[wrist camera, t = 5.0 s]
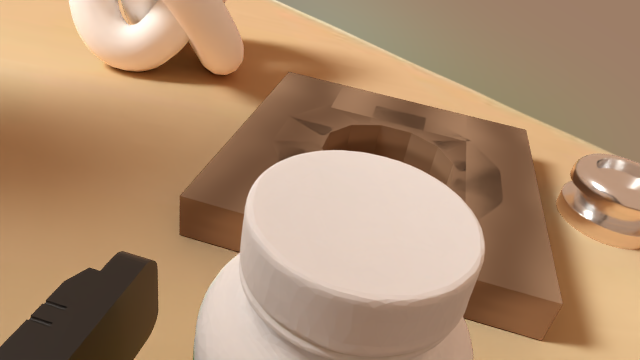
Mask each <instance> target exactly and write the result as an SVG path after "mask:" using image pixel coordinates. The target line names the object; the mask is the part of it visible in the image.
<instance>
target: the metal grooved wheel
mask: <svg viewBox="0 0 640 360" xmlns="http://www.w3.org/2000/svg"><path fill="white" fill-rule="evenodd" d="M570 176H571V179H572V181H570V182H568V183H566V184H565V185H564V186H563V188H562V190H561V192H560V194H559V196H558V198H557V200H556V207H557V210H558V212H559V213H560V215H561V216H562V217H563V218H564V220H565V221H566V222H568V223H569V224H570V225H571V226H572V227H574V228H575V229H576V230H578V231H579V232H581V233H582V234H584V235H586V236H588V237H590V238H592V239H594V240H596V241H598V242H601V243H603V244H606V245H609V246H612V247H616V248H621V249H628V250H639V249H640V164H639V163H637V162H634V161H632V160H629V159H626V158H623V157H619V156H614V155H609V154H591V155H587V156H584V157H582V158H580V159H579V160H578V161H577V162H576V163H575V164H574V166H573V168H572V170H571V172H570Z"/></svg>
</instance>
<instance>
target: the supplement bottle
mask: <svg viewBox="0 0 640 360" xmlns="http://www.w3.org/2000/svg"><path fill="white" fill-rule="evenodd" d="M484 255H485V241H484V236H483V232H482V228H481V226H480V224H479V222H478V220H477V218H476V216H475V215H474V213H473V211H472V210H471V209H470V208H469V207H468V205H467V204H466V203H465V202H464V201H463V200H462V198H461V197H460V196H458V195H457V194H456V193H455V192H454V191H452V190H451V189H450V188H449V187H448V186H446V185H445V184H444V183H442V182H440V181H439V180H437V179H436V178H434V177H432V176H431V175H429V174H427V173H425V172H424V171H422V170H420V169H417V168H415V167H413V166H411V165H408V164H406V163H403V162H400V161H397V160H394V159H390V158H387V157H383V156H379V155H374V154H370V153H364V152H356V151H345V150H326V151H315V152H309V153H304V154H299V155H295V156H292V157H289V158H287V159H284V160H282V161H280V162H278V163H276V164H274V165H273V166H271V167H270V168H268V169H267V170H266V171H264V172H263V173H262V174H261V175H260V176H259V177H258V179H257V180H256V181H255V183H254V184H253V185H252V187H251V189H250V191H249V194H248V197H247V200H246V205H245V211H244V219H243V226H242V236H241V246H240V253H239V254H238V255H236V256H235V257H234V258H233V259H231V260H230V261H229V262H228V263H227V264H226V265H225V266H224V267H223V268H222V269H221V271H220V272H219V273H218V275H217V276H216V277H215V279H214V280H213V282H212V283H211V285H210V286H209V288H208V290H207V292H206V294H205V296H204V299H203V301H202V304H201V306H200V310H199V314H198V318H197V324H196V332H195V340H194V353H193V360H473V349H472V344H471V339H470V335H469V331H468V328H467V325H466V322H465V320H464V318H463V315H464V313H465V311H466V308H467V305H468V302H469V299H470V296H471V294H472V291H473V289H474V286H475V283H476V281H477V278H478V276H479V273H480V270H481V267H482V265H483V262H484Z"/></svg>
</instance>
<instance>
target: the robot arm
mask: <svg viewBox="0 0 640 360" xmlns="http://www.w3.org/2000/svg"><path fill="white" fill-rule="evenodd" d="M157 315H158V269H157V263H156V262H155V261H153V260H150V259H147V258H143V257H140V256H137V255H133V254H130V253H127V252H123V251H121V252H119V253H117V254H116V255H115V256H114V257H113V258H112V259H111V260H110V261H109V262H108V263H107V264H106V265H105V266H104V268H103V269H102V270H101V271H98V270H95V269H92V268H88V269H86V270H84V271H82V272H80V273H79V274H77V275H75V276H73V277H71V278H69V279H68V280H66V281H64V282H63V283H62V284H61V285H60V286H59V287H58V288H57V289H56V290H55V291H54V292H53V293H52V295H51V296H50V297H49V298H48V299H47V300H46V303H45V304H42V305H41V306H40V307H39V308H38V309H37V310H36V311H35V312H34V313H33V314H32V315H31V318H30V319H29V320H26V321H25V322H24V323H23V324H22V325H21V326H20V327H19V328H18V329H17V330H16V331H15V332H14V333H13V334H12V335H11V336H10V337H9V338H8V339H7V340H6V341H5V342H4V344H3V345H2V346H1V347H0V360H133V359H134V358H135V357H136V355H137V354H138V352H139V351H140V349H141V348H142V346H143V345H144V343H145V342H146V341H147V339H148V337H149V336H150V334H151V332H152V330H153V328H154V325H155V322H156V319H157Z"/></svg>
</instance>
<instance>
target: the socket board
mask: <svg viewBox="0 0 640 360" xmlns="http://www.w3.org/2000/svg"><path fill="white" fill-rule="evenodd" d="M326 150H345V151H356V152H364V153H370V154H374V155H379V156H383V157H387V158H390V159H394V160H397V161H400V162H403V163H406V164H408V165H411V166H413V167H415V168H417V169H420V170H422V171H424V172H425V173H427V174H429V175H431V176H432V177H434V178H436V179H437V180H439V181H440V182H442V183H444V184H445V185H446V186H448V187H449V188H450V189H451V190H452V191H454V192H455V193H456V194H457V195H458V196H460V197H461V198H462V200H463V201H464V202H465V203H466V204H467V205H468V207H469V208H470V209H471V210H472V211H473V213H474V215H475V216H476V218H477V220H478V222H479V224H480V226H481V228H482V232H483V236H484V241H485V255H484V262H483V265H482V267H481V270H480V273H479V276H478V278H477V281H476V283H475V286H474V289H473V291H472V294H471V296H470V299H469V302H468V305H467V308H466V311H465V313H464V315H463V318H466V319H470V320H473V321H476V322H480V323H483V324H487V325H490V326H494V327H497V328H500V329H504V330H507V331H511V332H514V333H517V334H521V335H524V336H528V337H531V338H534V339H538V340H541V341H542V339H543V337H544V336H545V334H546V332H547V331H548V329H549V327H550V325H551V324H552V322H553V320H554V319H555V317H556V315H557V313H558V312H559V310H560V308H561V307H562V305H563V303H562V298H561V293H560V288H559V284H558V279H557V274H556V269H555V265H554V260H553V255H552V250H551V246H550V241H549V236H548V232H547V227H546V222H545V217H544V213H543V208H542V203H541V198H540V194H539V189H538V184H537V179H536V175H535V170H534V165H533V160H532V156H531V151H530V146H529V141H528V137H527V132H526V130H524V129H520V128H516V127H512V126H508V125H504V124H500V123H496V122H492V121H487V120H483V119H479V118H475V117H471V116H467V115H463V114H459V113H455V112H451V111H447V110H443V109H438V108H434V107H430V106H426V105H422V104H418V103H414V102H410V101H406V100H402V99H398V98H394V97H390V96H385V95H381V94H377V93H373V92H369V91H365V90H361V89H357V88H353V87H349V86H345V85H341V84H336V83H332V82H328V81H324V80H320V79H316V78H312V77H308V76H304V75H300V74H296V73H292V72H289V73H288V74H287V75H286V76H285V77H284V78H283V80H282V81H281V82H280V83H279V84H278V85H277V86H276V87H275V89H274V90H273V91H272V92H271V93H270V94H269V95H268V97H267V98H266V99H265V100H264V101H263V102H262V103H261V104H260V106H259V107H258V108H257V109H256V110H255V111H254V112H253V114H252V115H251V116H250V117H249V118H248V119H247V120H246V121H245V123H244V124H243V125H242V126H241V127H240V128H239V129H238V131H237V132H236V133H235V134H234V135H233V136H232V137H231V138H230V140H229V141H228V142H227V143H226V144H225V145H224V146H223V148H222V149H221V150H220V151H219V152H218V153H217V154H216V156H215V157H214V158H213V159H212V160H211V161H210V162H209V163H208V165H207V166H206V167H205V168H204V169H203V170H202V171H201V173H200V174H199V175H198V176H197V177H196V178H195V179H194V180H193V182H192V183H191V184H190V185H189V186H188V187H187V188H186V190H185V191H184V192H183V193H182V194H181V195H180V235H183V236H186V237H190V238H193V239H197V240H200V241H203V242H207V243H210V244H214V245H217V246H220V247H224V248H227V249H231V250H234V251H238V252H240V246H241V236H242V226H243V219H244V211H245V205H246V200H247V197H248V194H249V191H250V189H251V187H252V185H253V184H254V183H255V181H256V180H257V179H258V177H259V176H260V175H261V174H262V173H263V172H264V171H266V170H267V169H268V168H270V167H271V166H273V165H274V164H276V163H278V162H280V161H282V160H284V159H287V158H289V157H292V156H295V155H299V154H304V153H309V152H315V151H326Z"/></svg>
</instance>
